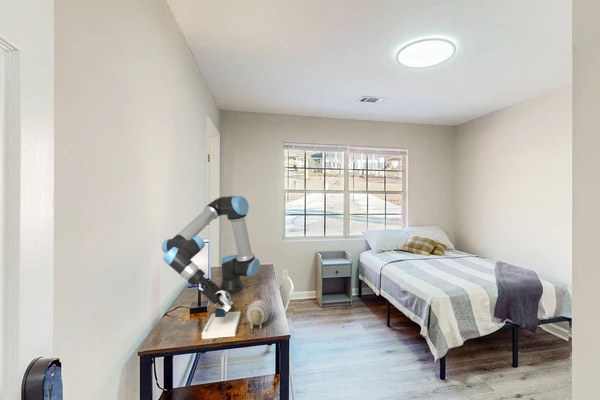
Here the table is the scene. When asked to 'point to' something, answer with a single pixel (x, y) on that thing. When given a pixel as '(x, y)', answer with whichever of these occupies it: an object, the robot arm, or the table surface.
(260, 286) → the table surface
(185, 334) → the table surface
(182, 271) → the robot arm
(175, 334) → the table surface
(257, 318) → the toy sheep
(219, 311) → the watch
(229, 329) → the tray
